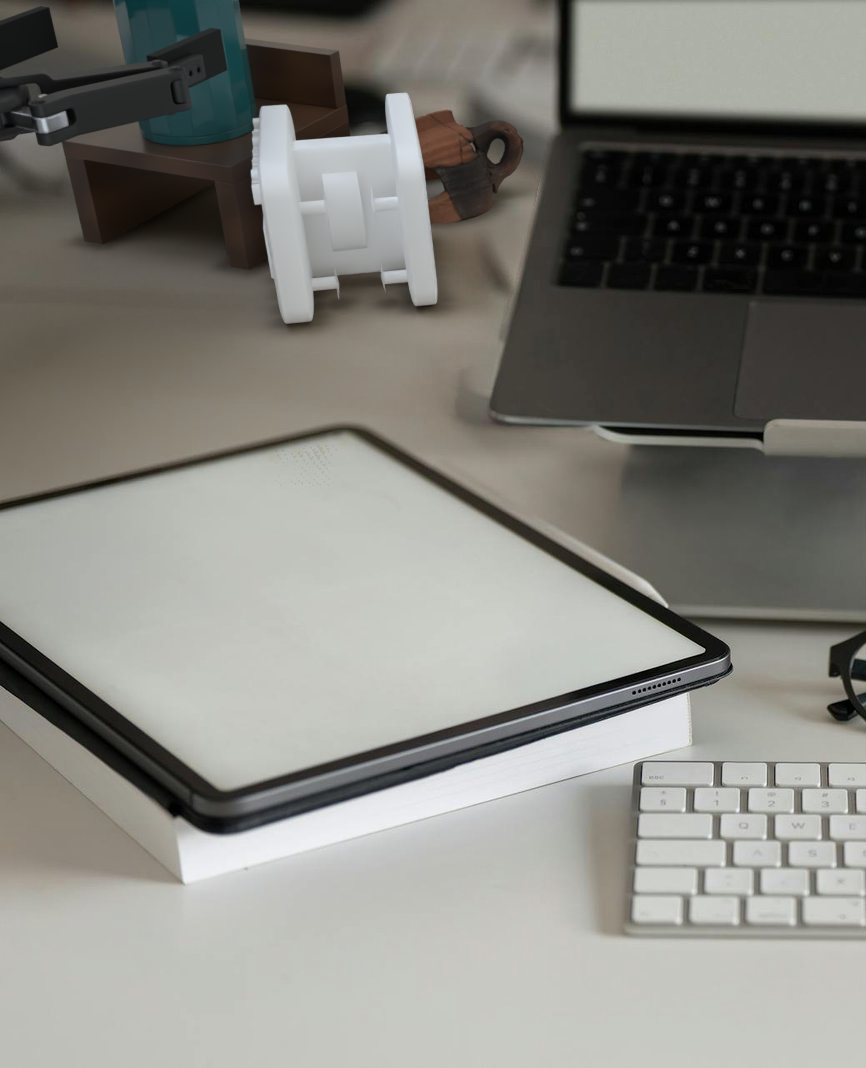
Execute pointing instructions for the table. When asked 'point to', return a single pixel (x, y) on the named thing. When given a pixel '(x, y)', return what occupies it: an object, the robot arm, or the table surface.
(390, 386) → the table surface
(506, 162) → the pottery mug
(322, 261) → the cable organizer
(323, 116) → the desk shelf
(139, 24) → the teal cup
